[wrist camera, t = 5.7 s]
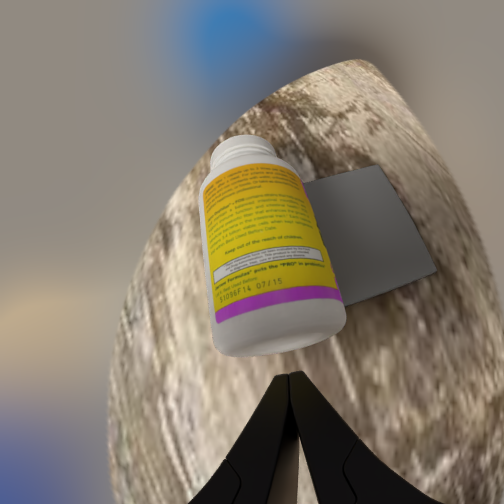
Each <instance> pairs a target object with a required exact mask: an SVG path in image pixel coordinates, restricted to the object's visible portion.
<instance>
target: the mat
mask: <svg viewBox="0 0 504 504" xmlns="http://www.w3.org/2000/svg"><path fill="white" fill-rule="evenodd" d="M303 186H304V188H305V191H306V193H307V196H308V199H309V201H310V204H311V207H312V210H313V212H314V215H315V218H316V221H317V224H318V226H319V229H320V232H321V235H322V238H323V241H324V244H325V247H326V249H327V253H328V256H329V259H330V262H331V265H332V268H333V271H334V274H335V277H336V280H337V284H338V287H339V290H340V293H341V297H342V300H343V304H344V307H345V306H348V305H351V304H354V303H357V302H360V301H363V300H366V299H369V298H371V297H374V296H377V295H380V294H382V293H385V292H388V291H390V290H393V289H396V288H398V287H401V286H403V285H406V284H409V283H411V282H414V281H416V280H419V279H421V278H423V277H426V276H428V275H431V274H433V273H435V272H436V271H437V269H436V267H435V265H434V262H433V260H432V258H431V256H430V254H429V252H428V250H427V248H426V246H425V244H424V242H423V240H422V238H421V236H420V234H419V232H418V230H417V228H416V226H415V225H414V223H413V221H412V219H411V217H410V215H409V214H408V212H407V210H406V208H405V207H404V205H403V203H402V202H401V200H400V198H399V197H398V195H397V193H396V192H395V190H394V188H393V187H392V185H391V184H390V182H389V180H388V179H387V177H386V176H385V174H384V173H383V171H382V170H381V168H380V167H379V165H374V166H369V167H365V168H361V169H357V170H353V171H349V172H345V173H341V174H337V175H333V176H329V177H326V178H322V179H318V180H314V181H311V182H307V183H303Z"/></svg>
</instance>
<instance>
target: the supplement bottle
mask: <svg viewBox="0 0 504 504" xmlns="http://www.w3.org/2000/svg"><path fill="white" fill-rule="evenodd" d="M210 166H211V172H210V173H209V175H208V176H207V177H206V178H205V180H204V182H203V184H202V186H201V189H200V192H199V212H200V224H201V236H202V247H203V258H204V268H205V277H206V286H207V295H208V304H209V312H210V321H211V328H212V336H213V342H214V345H215V347H216V349H217V350H218V351H219V352H220V353H222V354H224V355H226V356H231V357H254V356H262V355H270V354H277V353H282V352H287V351H291V350H296V349H300V348H303V347H306V346H310V345H312V344H315V343H318V342H320V341H323V340H325V339H327V338H329V337H331V336H333V335H335V334H336V333H338V332H339V331H340V330H341V329H342V328H343V327H344V325H345V323H346V312H345V308H344V304H343V300H342V297H341V293H340V290H339V287H338V284H337V280H336V277H335V274H334V271H333V268H332V265H331V262H330V259H329V256H328V253H327V249H326V247H325V244H324V241H323V238H322V235H321V232H320V229H319V226H318V224H317V221H316V218H315V215H314V212H313V210H312V207H311V204H310V201H309V199H308V196H307V193H306V191H305V188H304V186H303V183H302V181H301V178H300V176H299V174H298V173H297V172H296V170H295V169H294V168H293V167H292V166H291V165H290V164H288V163H287V162H285V161H284V160H282V159H279V158H277V155H276V153H275V150H274V148H273V146H272V145H271V144H270V143H269V142H268V141H267V140H265V139H263V138H261V137H258V136H254V135H239V136H235V137H231V138H229V139H227V140H225V141H224V142H222V143H221V144H220V145H219V146H217V148H216V149H215V150H214V152H213V154H212V156H211V161H210Z"/></svg>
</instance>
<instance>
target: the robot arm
mask: <svg viewBox="0 0 504 504" xmlns="http://www.w3.org/2000/svg"><path fill="white" fill-rule="evenodd" d="M299 437H300V440H301V444H302V448H303V451H304V455H305V458H306V462H307V465H308V469H309V472H310V476H311V480H312V483H313V487H314V490H315V494H316V497H317V501H318V504H444V503H441V502H439V501H436V500H434V499H432V498H430V497H429V496H427V495H425V494H424V493H422V492H421V491H420V490H418V489H417V488H415V487H414V486H413V485H411V484H410V483H409V482H407V481H406V480H405V479H403V478H402V477H401V476H399V475H398V474H397V473H395V472H394V471H393V470H391V469H390V468H389V467H388V466H387V465H386V464H384V463H383V462H382V461H381V460H380V459H379V458H378V457H377V456H376V455H375V454H374V453H373V452H372V451H371V450H370V449H369V448H368V447H367V446H366V445H365V444H364V443H363V441H362V440H361V439H359V437H358V436H357V435H356V434H355V432H354V431H353V430H352V429H351V428H350V427H349V426H348V424H347V423H346V422H345V421H344V420H343V419H342V417H341V416H340V415H339V414H338V413H337V411H336V410H335V409H334V408H333V407H332V406H331V404H330V403H329V402H328V401H327V400H326V398H325V397H324V396H323V395H322V394H321V392H320V391H319V390H318V389H317V388H316V386H315V385H314V384H313V383H312V382H311V380H310V379H309V378H308V377H307V375H306V374H305V373H304V372H303V371H296V372H291V373H290V374H289V375H288V374H287V373H286V374H280V375H276V376H274V378H273V380H272V382H271V383H270V385H269V387H268V389H267V390H266V392H265V394H264V396H263V397H262V399H261V401H260V403H259V404H258V406H257V408H256V409H255V411H254V413H253V414H252V416H251V418H250V419H249V421H248V423H247V424H246V426H245V428H244V429H243V431H242V432H241V434H240V436H239V437H238V439H237V440H236V442H235V443H234V445H233V447H232V448H231V450H230V451H229V453H228V454H227V456H226V459H227V460H226V459H224V460H223V462H222V463H221V465H220V466H219V468H218V469H217V470H216V472H215V473H214V474H213V476H212V477H211V478H210V480H209V481H208V482H207V483H206V485H205V486H204V487H203V488H202V489H201V490H200V491H199V492H198V494H197V495H196V496H195V497H194V498H193V499H192V500H191V501H190V502H189V503H188V504H297V490H298V470H299Z"/></svg>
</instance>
